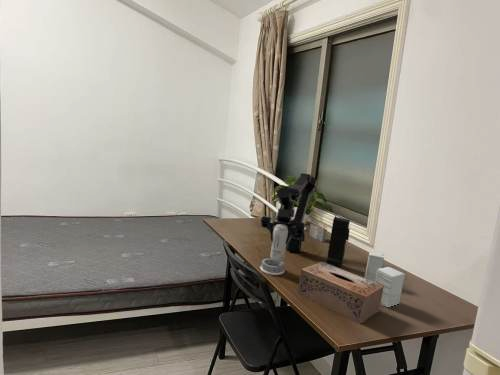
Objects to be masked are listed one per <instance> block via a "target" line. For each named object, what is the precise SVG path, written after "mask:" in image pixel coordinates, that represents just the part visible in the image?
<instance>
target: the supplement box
mask: <svg viewBox="0 0 500 375" xmlns="http://www.w3.org/2000/svg"><path fill="white" fill-rule="evenodd" d="M405 275H406V274H405V273H403V272H401V271H399V270H397V269H394V268H392V267H390V266H385V267H382V268H380V269H377V273H376V279H375V283H378V284H380V285H383V286H384V288H383V293H382V298H381V304H382V305H381V304H380V305H381V306H383V305H384V306H386V307H389V308H391V306H393V307H395V306H394V305H396V306H398V305H397V304H399V305H400V302H401V295H402V291H403V286H404V280H405V277H406V276H405ZM384 306H383V307H384ZM386 307H385V308H386Z"/></svg>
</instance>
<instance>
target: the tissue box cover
mask: <svg viewBox="0 0 500 375" xmlns="http://www.w3.org/2000/svg"><path fill="white" fill-rule="evenodd" d="M383 288H384V286H383V285H380V284H378V283H375V282H373V281H370V280H368V279H365V278H364V277H362V276H359V275H357V274H355V273H352V272H349V271H347V270H345V269H343V268H337V267H335V266H332V265H330V264H327V262H324V261H319V262H317V263H315V264H311V265H309V266H305V267H303V268H301V269H300V276H299V282H298V289H297V294H298V295H301V296H302V297H304V298H306V297H307V298H306V299H308V298H309V299H308V300H310V299H311V301H312V300H313V301H312V302H314V301H315V303H317V304H319V305H321V306H323V307H325V308H327V309H328V310H332V311H333V312H334V313H337V314H339V313H340V314H339V315H341V314H342V315H341V316H343V315H344V316H343V317H345V316H346V317H345V318H347V317H349V318H348V319H350V318H351V319H350V320H352V319H353V320H352V321H354V320H355V321H354V322H356V321H357V322H356V323H358V322H359V323H358V324H360V323H362V322H363V323H365V322H366V321H367V320H368V318H369V317H370V316H371V317H373V316H374V315H376V314H377V313H378V312H380V308H381V298H382V293H383ZM377 311H378V312H377ZM376 312H377V313H376ZM375 313H376V314H375ZM373 314H374V315H373ZM372 315H373V316H372ZM371 317H370V318H371ZM370 318H369V319H370ZM366 319H367V320H366ZM365 320H366V321H365ZM363 323H362V324H363Z"/></svg>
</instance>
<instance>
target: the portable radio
mask: <svg viewBox="0 0 500 375" xmlns="http://www.w3.org/2000/svg"><path fill="white" fill-rule="evenodd" d="M350 221H351V220H350V219H347V218H344V217H343V218H342V217H338V216H337V215H335V216H334V218H333V220H332V227H331V233H330V239H329V244H328V252H327V257H326V263H327V264H330V265H332V266H335V267H337V268H340V269H342V267H343V264H344V257H345V251H346V246H347V242H348V241H349V238H350V230H351V229H350V228H349V227H350Z"/></svg>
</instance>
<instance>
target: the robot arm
mask: <svg viewBox="0 0 500 375" xmlns="http://www.w3.org/2000/svg"><path fill="white" fill-rule="evenodd" d="M318 185H319V182H318V180H317V178H315V177H313V175H312V174H309V173H304V172H303V173H300V175H299V177H298V178H297V179H296V181H295V182H294V183H293V184H289V185H283V187H280V188H279V189H277V191H276V196H277V199H278V202H279V204H280V207H279V208H278V209H277V213H276V214H277V215H276V220H274V219H272V217H271V216H266V215H263V216H261V219H260V224H261V226H260V227H262V228H266V229H267V231H269V233H270V242H272V240H273V232H274V228H275V227H276V224H283V225H286V226H287V229H288V236H287V240H286V250H287V251H288V252H289V253H291V254H292V253H295V254H297V253H303V251H302V249H301V248H302V243H303V242H305V240H306V233H305V228H306V224H305V222H304V218H305V215H306V212H307V208H308V206H309V202H310V198H311V196H312V195H313V194H314V193H315V192H316V189H317V188H318ZM295 202H298V203H297V204H298V205H297V207H296V210H295V209H294V205H295ZM292 218H293V219H292ZM291 219H292V220H291Z"/></svg>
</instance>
